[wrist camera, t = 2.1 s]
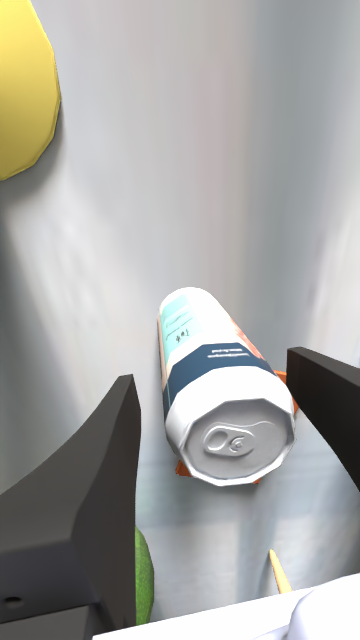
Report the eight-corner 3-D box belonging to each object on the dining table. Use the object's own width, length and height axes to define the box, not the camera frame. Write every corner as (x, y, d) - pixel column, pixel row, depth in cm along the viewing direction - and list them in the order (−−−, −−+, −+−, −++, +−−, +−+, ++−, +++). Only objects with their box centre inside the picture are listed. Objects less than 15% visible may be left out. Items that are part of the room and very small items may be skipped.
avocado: (68, 542, 28) (14, 758, 17) (93, 494, 25) (50, 707, 14) (137, 553, 30) (130, 752, 19) (166, 509, 27) (177, 706, 16)
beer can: (206, 350, 21) (272, 501, 10) (149, 336, 20) (149, 487, 9) (228, 295, 19) (335, 400, 8) (167, 277, 18) (195, 370, 7)
